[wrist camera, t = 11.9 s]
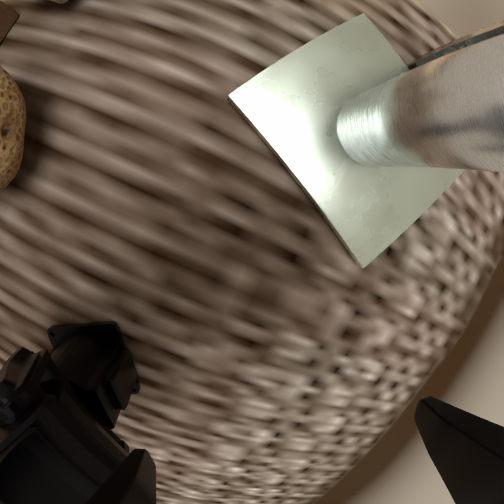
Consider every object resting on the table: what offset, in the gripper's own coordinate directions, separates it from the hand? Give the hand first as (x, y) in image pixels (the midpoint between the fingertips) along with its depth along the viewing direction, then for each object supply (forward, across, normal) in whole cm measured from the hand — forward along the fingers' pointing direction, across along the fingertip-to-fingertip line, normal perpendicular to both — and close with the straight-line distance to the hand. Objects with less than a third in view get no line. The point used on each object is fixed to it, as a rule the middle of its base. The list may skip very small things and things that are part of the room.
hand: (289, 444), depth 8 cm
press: (+13, -12, -9) cm, 20 cm away
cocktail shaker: (+12, -9, -10) cm, 18 cm away
